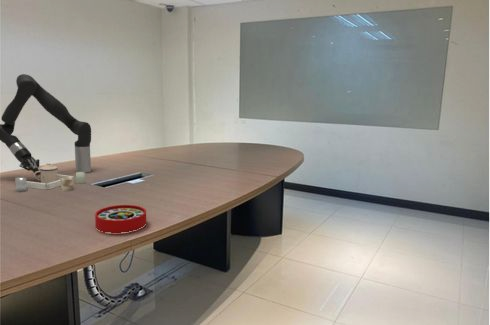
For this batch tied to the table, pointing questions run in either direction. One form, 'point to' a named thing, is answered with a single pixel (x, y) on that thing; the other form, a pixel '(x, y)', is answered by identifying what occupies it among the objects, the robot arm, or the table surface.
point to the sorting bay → (48, 185)
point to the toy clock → (120, 218)
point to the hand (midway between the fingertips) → (39, 174)
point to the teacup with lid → (48, 173)
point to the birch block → (66, 184)
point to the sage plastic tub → (80, 177)
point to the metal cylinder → (21, 184)
